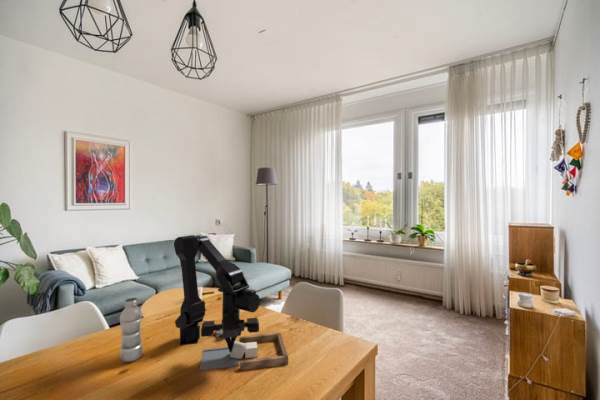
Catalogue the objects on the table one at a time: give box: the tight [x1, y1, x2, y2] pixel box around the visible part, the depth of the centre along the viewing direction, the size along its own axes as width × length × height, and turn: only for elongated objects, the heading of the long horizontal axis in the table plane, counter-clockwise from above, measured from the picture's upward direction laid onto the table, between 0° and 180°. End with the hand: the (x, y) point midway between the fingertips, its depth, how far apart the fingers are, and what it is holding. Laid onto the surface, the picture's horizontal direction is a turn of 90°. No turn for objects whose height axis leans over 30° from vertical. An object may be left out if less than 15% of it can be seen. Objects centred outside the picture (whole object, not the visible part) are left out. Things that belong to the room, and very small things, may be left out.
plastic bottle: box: [119, 297, 144, 363], centre depth 95 cm, size 6×7×20 cm
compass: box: [213, 330, 224, 340], centre depth 112 cm, size 8×8×7 cm
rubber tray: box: [199, 346, 240, 371], centre depth 96 cm, size 12×12×1 cm
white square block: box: [244, 342, 258, 359], centre depth 98 cm, size 4×4×4 cm
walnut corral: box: [238, 332, 289, 371], centre depth 99 cm, size 15×17×2 cm
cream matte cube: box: [230, 340, 245, 360], centre depth 97 cm, size 4×4×4 cm
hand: (230, 351), depth 97 cm, fingers closed
